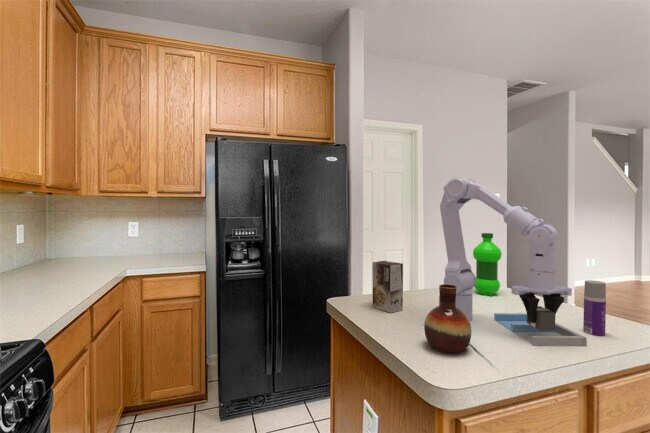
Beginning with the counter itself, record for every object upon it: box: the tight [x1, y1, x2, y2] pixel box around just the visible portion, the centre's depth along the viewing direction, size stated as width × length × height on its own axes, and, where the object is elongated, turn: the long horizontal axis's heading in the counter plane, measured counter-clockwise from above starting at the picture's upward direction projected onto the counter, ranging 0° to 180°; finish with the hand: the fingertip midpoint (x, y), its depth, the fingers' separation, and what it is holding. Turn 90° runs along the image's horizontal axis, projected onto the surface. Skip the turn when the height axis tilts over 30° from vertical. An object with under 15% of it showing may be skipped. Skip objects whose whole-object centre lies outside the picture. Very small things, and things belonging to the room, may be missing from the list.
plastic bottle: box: [472, 232, 502, 296], centre depth 139 cm, size 10×10×25 cm
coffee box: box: [371, 260, 404, 314], centre depth 117 cm, size 9×6×16 cm
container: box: [582, 279, 607, 337], centre depth 92 cm, size 5×5×15 cm
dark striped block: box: [527, 305, 556, 331], centre depth 88 cm, size 4×6×5 cm, turn 0°
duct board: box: [493, 312, 588, 347], centre depth 93 cm, size 13×20×4 cm, turn 0°
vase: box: [423, 283, 472, 355], centre depth 84 cm, size 11×11×15 cm
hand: (540, 322), depth 88 cm, fingers closed on dark striped block, 4 cm apart
